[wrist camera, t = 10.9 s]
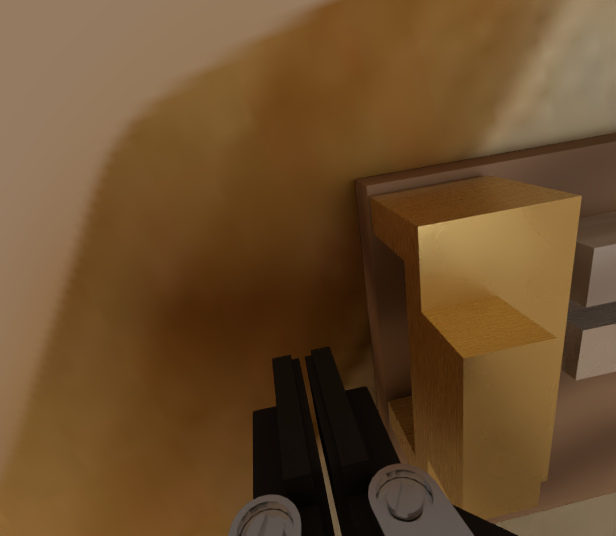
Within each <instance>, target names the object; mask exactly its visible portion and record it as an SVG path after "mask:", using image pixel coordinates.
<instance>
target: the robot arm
mask: <svg viewBox="0 0 616 536" xmlns="http://www.w3.org/2000/svg"><path fill="white" fill-rule="evenodd" d="M311 354H312V355H311V356H306V357H305V361H306V366H307V372H308V377H309V382H310V387H311V393H312V398H313V403H314V409H315V414H316V419H317V424H318V430H319V435H320V439H321V444H322V448H323V453H324V457H325V462H326V466H327V471H328V476H329V480H330V485H331V489H332V494H333V498H334V503H335V507H336V512H337V516H338V521H339V525H340V530H341V534H342V536H518V535H516V534H513V533H511V532H509V531H507V530H505V529H503V528H501V527H499V526H497V525H495V524H493V523H490V522H488V521H486V520H484V519H482V518H480V517H478V516H476V515H474V514H472V513H470V512H467V511H465V510H463V509H461V508H459V507H457V506H455V505H453V504H451V502H450V501H449V500H448V498H447V497H446V495H445V494H444V493H443V491H442V490H441V488H440V487H439V485H438V484H437V483H436V481H435V480H434V479H433V478H432V477H431V476H430V475H429V474H428V473H427V472H425V471H424V470H422V469H420V468H419V467H416V466H413V465H410V464H401V462H400V460H399V458H398V455H397V453H396V451H395V449H394V446H393V444H392V442H391V440H390V437H389V435H388V433H387V431H386V428H385V426H384V424H383V422H382V419H381V417H380V415H379V412H378V410H377V408H376V406H375V403H374V401H373V399H372V397H371V394H370V392H369V390H368V388H367V387H366V386H364V387H360V388H355V389H351V390H346V391H345V389H344V387H343V384H342V381H341V378H340V375H339V372H338V370H337V367H336V364H335V361H334V358H333V355H332V353H331V350H330V347H324V348H320V349H315V350H311ZM272 362H273V373H274V384H275V395H276V406H275V407H271V408H266V409H262V410H257V411H253V500H252V501H250V502H248V503H247V504H246V505H245V506H244V507H243V508H242V509H241V510H240V511H239V512H238V514H237V515H236V517H235V518H234V520H233V522H232V525H231V528H230V531H229V535H228V536H335V534H334V529H333V524H332V519H331V514H330V509H329V504H328V498H327V493H326V488H325V483H324V478H323V473H322V468H321V463H320V458H319V453H318V448H317V443H316V439H315V434H314V429H313V424H312V419H311V414H310V409H309V405H308V400H307V395H306V390H305V385H304V380H303V376H302V371H301V366H300V361H299V358H297V359H293V360H292V358H291V355H287V356H282V357H278V358H273V359H272Z"/></svg>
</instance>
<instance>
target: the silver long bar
mask: <svg viewBox="0 0 616 536" xmlns="http://www.w3.org/2000/svg"><path fill="white" fill-rule="evenodd" d="M561 369H562V370H563V371H564V372H565V373H567V374H568V375H569V376H570V377H572V378H573V379H574V380H580V379H585V378H589V377H594V376H598V375H602V374H607V373H611V372H616V301H615V302H610V303H605V304H601V305H596V306H591V307H587V308H586V307H584V306H582V305H580V304H579V303H577V302H575V301H573V300H571V299H569V305H568V313H567V322H566V330H565V338H564V346H563V354H562V363H561Z"/></svg>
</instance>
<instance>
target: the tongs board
mask: <svg viewBox="0 0 616 536" xmlns="http://www.w3.org/2000/svg"><path fill="white" fill-rule="evenodd" d="M489 175H490V176H495V177H499V178H504V179H508V180H513V181H517V182H522V183H526V184H531V185H536V186H540V187H545V188H549V189H554V190H558V191H563V192H567V193H572V194H576V195H581V196H582V198H581V206H580V215H579V223H578V231H577V239H576V248H575V256H574V264H573V272H572V280H571V289H570V297H569V299H571V300H573V301H575V302H577V303H579V304H580V305H582V306H584V307H586V308H587V307H591V306H596V305H601V304H605V303H610V302H615V301H616V133H614V134H609V135H603V136H598V137H592V138H586V139H581V140H575V141H569V142H564V143H558V144H552V145H547V146H541V147H536V148H530V149H524V150H519V151H513V152H507V153H502V154H496V155H490V156H485V157H479V158H474V159H468V160H462V161H457V162H451V163H445V164H440V165H434V166H429V167H423V168H417V169H412V170H406V171H400V172H395V173H389V174H383V175H378V176H372V177H367V178H361V179H355V189H356V199H357V208H358V218H359V228H360V238H361V247H362V257H363V267H364V277H365V286H366V296H367V306H368V316H369V325H370V335H371V345H372V355H373V364H374V374H375V384H376V394H377V403H378V412H379V415H380V417H381V419H382V422H383V424H384V426H385V428H386V431H387V433H388V435H389V437H390V440H391V442H392V444H393V446H394V449H395V451H396V453H397V455H398V458H399V460H400V462H401V464H408V461H407V459H406V457H405V455H404V453H403V451H402V449H401V446H400V444H399V442H398V440H397V438H396V436H395V434H394V431H393V429H392V427H391V425H390V416H389V405H388V401H391V400H396V399H400V398H405V397H409V396H412V386H411V369H410V352H409V335H408V318H407V301H406V284H405V267H404V260H403V259H401V258H400V257H399V256H398V255H397V254H396V253H395V252H394V251H392V250H391V249H390V248H389V247H388V246H387V245H386V244H385V243H384V242H382V241H381V240H380V239H379V238H378V237H377V236H376V235H375V234H374V233H373V225H372V214H371V202H370V197H373V196H379V195H384V194H390V193H395V192H401V191H406V190H412V189H417V188H423V187H428V186H434V185H439V184H445V183H450V182H456V181H461V180H467V179H472V178H478V177H483V176H489ZM614 492H616V372H611V373H607V374H602V375H598V376H594V377H589V378H585V379H580V380H574V379H573V378H572V377H570V376H569V375H568V374H567V373H565V372H564V371H563V370H562V369H561V371H560V379H559V387H558V395H557V404H556V412H555V420H554V428H553V437H552V445H551V453H550V461H549V469H548V478H547V481H543V482H541V485H540V494H539V503H538V507H534V508H530V509H526V510H522V511H518V512H514V513H510V514H506V515H502V516H498V517H495V518H491V519H487V520H486V521H488V522H490V523H497V522H501V521H505V520H508V519H512V518H516V517H520V516H524V515H528V514H532V513H536V512H540V511H544V510H548V509H551V508H555V507H559V506H563V505H567V504H571V503H575V502H579V501H583V500H587V499H590V498H594V497H598V496H602V495H606V494H610V493H614Z"/></svg>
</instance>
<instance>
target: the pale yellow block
mask: <svg viewBox="0 0 616 536" xmlns="http://www.w3.org/2000/svg"><path fill="white" fill-rule="evenodd" d="M581 198H582V196H581V195H576V194H572V193H567V192H563V191H558V190H554V189H549V188H545V187H540V186H536V185H531V184H526V183H522V182H517V181H513V180H508V179H504V178H499V177H495V176H490V175H489V176H483V177H478V178H472V179H467V180H461V181H456V182H450V183H445V184H439V185H434V186H428V187H423V188H417V189H412V190H406V191H401V192H395V193H390V194H384V195H379V196H373V197H370V202H371V214H372V225H373V233H374V234H375V235H376V236H377V237H378V238H379V239H380V240H381V241H382V242H384V243H385V244H386V245H387V246H388V247H389V248H390V249H391V250H392V251H394V252H395V253H396V254H397V255H398V256H399V257H400V258H401V259H403V260H404V267H405V284H406V301H407V318H408V335H409V352H410V369H411V386H412V396H409V397H405V398H400V399H396V400H391V401H388V405H389V416H390V425H391V427H392V429H393V431H394V434H395V436H396V438H397V440H398V442H399V444H400V446H401V449H402V451H403V453H404V455H405V457H406V459H407V461H408V464H410V465H413V466H416V467H419V468H420V469H422V470H424V471H425V472H427V473H428V474H429V475H430V476H431V477H432V478H433V479H434V480H435V481H436V483H437V484H438V485H439V487H440V488H441V490H442V491H443V493H444V494H445V495H446V497H447V498H448V500H449V501H450V502H451V504H453V505H455V506H457V507H459V508H461V509H463V510H465V511H467V512H470V513H472V514H474V515H476V516H478V517H480V518H482V519H484V520H487V519H491V518H495V517H498V516H502V515H506V514H510V513H514V512H518V511H522V510H526V509H530V508H534V507H538V503H539V494H540V485H541V482H543V481H547V478H548V469H549V461H550V453H551V445H552V437H553V428H554V420H555V412H556V404H557V395H558V387H559V379H560V371H561V363H562V354H563V346H564V338H565V330H566V322H567V313H568V305H569V297H570V289H571V280H572V272H573V264H574V256H575V248H576V239H577V231H578V223H579V215H580V206H581Z"/></svg>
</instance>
